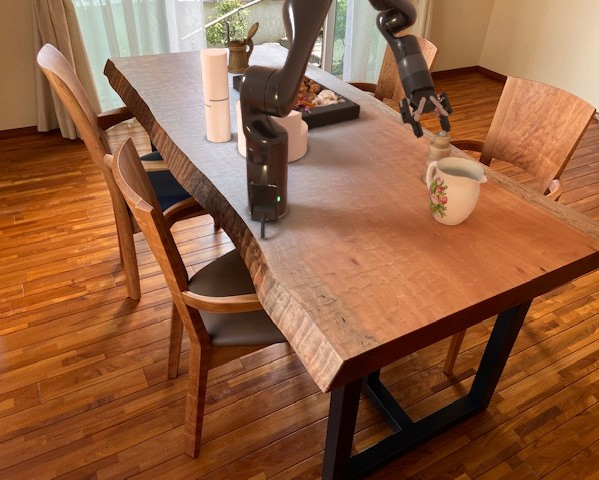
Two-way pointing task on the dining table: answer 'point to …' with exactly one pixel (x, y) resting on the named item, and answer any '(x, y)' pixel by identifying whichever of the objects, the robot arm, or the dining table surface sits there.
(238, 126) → the container
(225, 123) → the cylindrical container
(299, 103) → the food platter
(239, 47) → the wooden mug
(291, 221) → the dining table surface
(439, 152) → the pepper mill
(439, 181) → the pitcher
